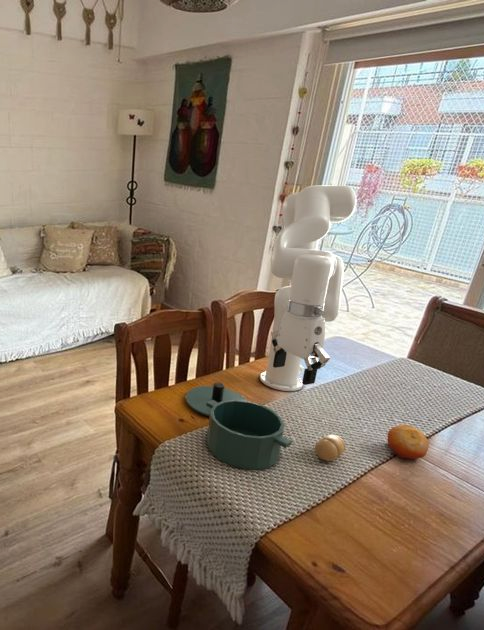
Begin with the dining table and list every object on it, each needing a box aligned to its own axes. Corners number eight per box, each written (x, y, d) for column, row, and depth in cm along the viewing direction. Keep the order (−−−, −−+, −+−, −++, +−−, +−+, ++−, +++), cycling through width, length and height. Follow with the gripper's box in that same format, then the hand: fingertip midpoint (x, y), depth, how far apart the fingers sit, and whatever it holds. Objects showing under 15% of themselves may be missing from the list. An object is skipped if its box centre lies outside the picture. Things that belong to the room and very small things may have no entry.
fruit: (407, 435, 111) (425, 421, 105) (420, 466, 106) (439, 453, 99) (374, 433, 111) (389, 419, 105) (384, 464, 106) (401, 450, 100)
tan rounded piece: (326, 445, 109) (329, 428, 107) (347, 455, 105) (351, 438, 103) (309, 457, 104) (312, 439, 103) (330, 468, 101) (334, 450, 99)
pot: (226, 417, 121) (229, 389, 118) (303, 458, 104) (309, 427, 101) (185, 437, 112) (187, 408, 109) (262, 486, 95) (267, 453, 92)
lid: (211, 384, 139) (213, 366, 137) (261, 408, 125) (264, 388, 123) (172, 400, 129) (174, 381, 127) (222, 428, 116) (224, 407, 114)
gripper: (349, 318, 95) (333, 388, 101) (290, 297, 111) (279, 359, 116) (322, 321, 93) (308, 393, 98) (265, 299, 109) (256, 362, 114)
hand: (292, 374), depth 107 cm, fingers open, 9 cm apart
